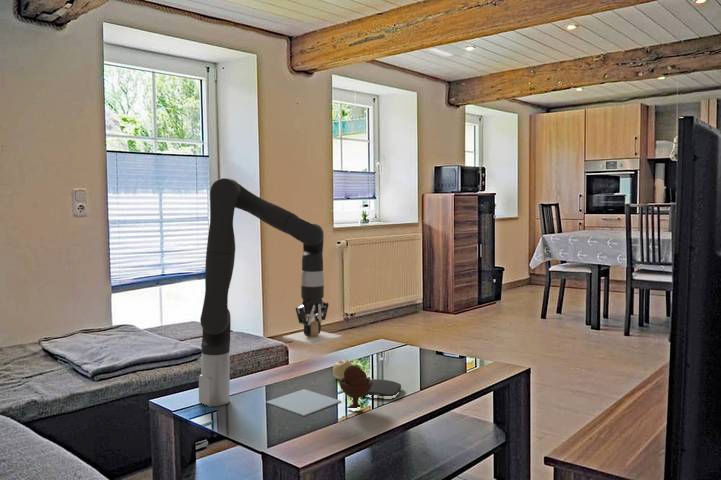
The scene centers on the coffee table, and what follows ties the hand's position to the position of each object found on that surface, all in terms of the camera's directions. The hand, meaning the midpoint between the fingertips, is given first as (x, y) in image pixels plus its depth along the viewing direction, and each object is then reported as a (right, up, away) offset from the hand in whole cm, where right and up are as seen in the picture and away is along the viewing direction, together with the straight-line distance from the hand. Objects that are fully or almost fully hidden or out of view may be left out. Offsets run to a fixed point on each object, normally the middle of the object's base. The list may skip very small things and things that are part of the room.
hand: (312, 334), depth 204 cm
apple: (+9, -22, +30) cm, 38 cm away
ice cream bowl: (+14, -25, -3) cm, 29 cm away
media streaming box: (+23, -24, +15) cm, 36 cm away
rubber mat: (-3, -24, +3) cm, 24 cm away
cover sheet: (0, -1, 0) cm, 1 cm away
